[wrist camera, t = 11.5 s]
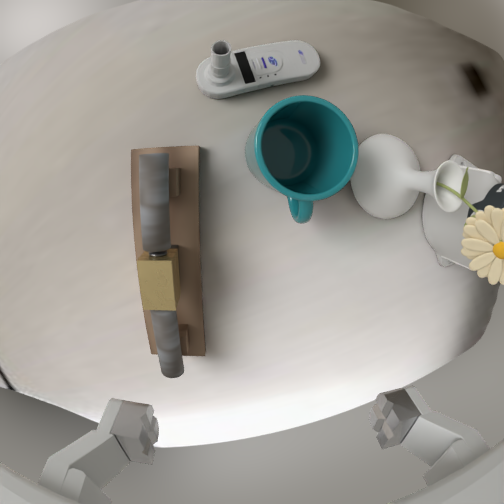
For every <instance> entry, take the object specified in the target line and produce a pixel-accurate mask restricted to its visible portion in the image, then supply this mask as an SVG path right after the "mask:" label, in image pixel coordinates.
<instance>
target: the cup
mask: <svg viewBox="0 0 504 504" xmlns="http://www.w3.org/2000/svg"><path fill="white" fill-rule="evenodd" d="M358 153H359V149H358V140H357V136H356V133H355V131H354V128H353V126H352V124H351V123H350V121H349V119H348V118H347V117H346V115H345V114H344V113H343V112H342V111H341V110H340V109H339V108H337V107H336V106H335V105H333V104H332V103H330V102H328V101H326V100H324V99H321V98H318V97H314V96H306V95H301V96H293V97H289V98H286V99H284V100H282V101H280V102H278V103H276V104H275V105H273V106H272V107H271V108H270V109H269V110H268V111H267V112H266V113H265V114H264V116H263V117H262V118H261V119H260V121H259V122H258V123H257V125H256V126H255V127H254V128H253V130H252V131H251V133H250V134H249V136H248V139H247V142H246V146H245V158H246V162H247V165H248V167H249V170H250V171H251V173H252V174H253V176H254V177H255V178H256V179H257V180H258V181H259V182H261V183H262V184H264V185H265V186H267V187H269V188H271V189H274V190H276V191H278V192H280V193H282V194H284V195H286V196H287V198H288V203H289V208H290V211H291V215H292V217H293V219H294V220H295V221H296V222H297V223H306V222H308V221H309V220H310V219H311V217H312V213H313V201H317V200H322V199H325V198H328V197H330V196H332V195H334V194H336V193H337V192H339V191H340V190H341V189H342V188H343V187H344V186H345V185H346V184H347V183H348V182H349V180H350V179H351V177H352V175H353V173H354V171H355V169H356V166H357V161H358Z"/></svg>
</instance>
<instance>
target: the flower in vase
mask: <svg viewBox="0 0 504 504" xmlns="http://www.w3.org/2000/svg"><path fill="white" fill-rule="evenodd" d="M358 149H359V153H358V161H357V166H356V169H355V171H354V173H353V175H352V177H351V179H350V181H351V187H352V190H353V193H354V196H355V198H356V200H357V202H358V203H359V205H360V206H361V207H362V208H363V209H364V210H365V211H366V212H367V213H368V214H370V215H372V216H374V217H376V218H380V219H391V218H395V217H398V216H400V215H402V214H404V213H405V212H407V211H408V210H409V209H410V208H411V207H412V205H413V204H414V203H415V201H416V199H417V197H418V194H419V191H421V192H424V193H427V194H429V195H431V196H432V197H434V198H435V199H436V202H437V204H438V205H439V207H440V208H441V209H442V210H443V211H445V212H448V213H451V212H454V211H456V210H457V209H458V208H459V207H460V206H461V204H462V202H465V203H466V204H467V205H468V206H469V207H470V208H471V209H472V210H473V211H474V212H475V213H476V214H475V215H472V216H471V217H468V218H467V219H466V222H465V224H464V227H463V233H462V235H463V237H464V238H465V239H463V240H462V241H461V245H462V247H463V248H462V249H461V254H462V255H464V256H466V257H467V258H468V259H471V260H472V261H471V262H470V263H469V268H470V269H471V270H472V271H477V270H478V271H477V274H478V276H479V277H481V278H484V277H488V281H489V283H490V284H492V285H495V284H497V282H498V281H500V283H501V284H502V285H504V208H502V209H500V208H494V207H493V206H491V205H488V206H486V207H485V208H484V212H483V211H478V210H477V209H476V208H475V207H474V206H472V205H471V204H470V203H469V202H468V201H467V200H466V199H465V198H464V197H465V193H466V190H467V186H468V181H469V176H468V171H467V170H468V168H469V167H467V168H466V172H465V174H464V173H463V171H462V169H461V167H460V166H459V165H458V164H457V163H456V162H454V161H445V162H444V163H442V164H441V165H440V166H439V167H438V169H437V170H434V171H427V172H423V171H421V170H420V165H419V162H418V159H417V157H416V155H415V153H414V152H413V150H412V149H411V148H410V146H409V145H408V144H407V143H405V142H404V141H403V140H401V139H399V138H398V137H396V136H393V135H390V134H376V135H373V136H371V137H369V138H367V139H366V140H364V141H363V142H362V143H361V144H360V146H359V147H358Z"/></svg>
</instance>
